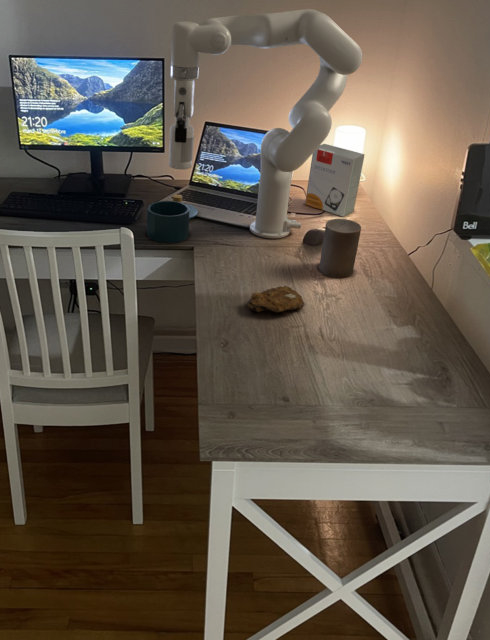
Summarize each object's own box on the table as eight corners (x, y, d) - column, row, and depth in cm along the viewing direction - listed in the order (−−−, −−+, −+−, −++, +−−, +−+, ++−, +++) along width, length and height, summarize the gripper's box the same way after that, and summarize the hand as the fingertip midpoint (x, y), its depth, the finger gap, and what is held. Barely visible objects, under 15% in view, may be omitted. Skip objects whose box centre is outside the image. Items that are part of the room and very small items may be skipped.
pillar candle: (359, 270, 193) (369, 221, 185) (341, 281, 187) (350, 231, 179) (330, 259, 198) (338, 211, 190) (311, 269, 192) (319, 220, 184)
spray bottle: (192, 170, 195) (195, 106, 185) (168, 169, 195) (170, 104, 185) (192, 162, 201) (195, 100, 191) (169, 161, 201) (171, 98, 191)
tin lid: (198, 207, 229) (199, 190, 226) (196, 223, 218) (197, 205, 214) (158, 204, 230) (159, 187, 227) (154, 220, 218) (154, 202, 215)
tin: (189, 227, 215) (190, 202, 210) (186, 244, 204) (187, 217, 199) (150, 225, 215) (150, 199, 211) (145, 241, 205) (145, 214, 200)
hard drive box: (303, 205, 234) (311, 147, 224) (315, 199, 239) (323, 142, 229) (343, 217, 226) (354, 158, 215) (355, 211, 231) (365, 153, 220)
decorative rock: (264, 326, 166) (310, 313, 173) (267, 312, 164) (313, 299, 171) (237, 303, 174) (282, 292, 181) (239, 289, 171) (285, 278, 179)
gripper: (196, 80, 177) (192, 148, 186) (200, 67, 191) (196, 130, 201) (167, 78, 177) (165, 146, 186) (173, 65, 192) (171, 129, 201)
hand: (181, 137), depth 194 cm, fingers closed on spray bottle, 6 cm apart
